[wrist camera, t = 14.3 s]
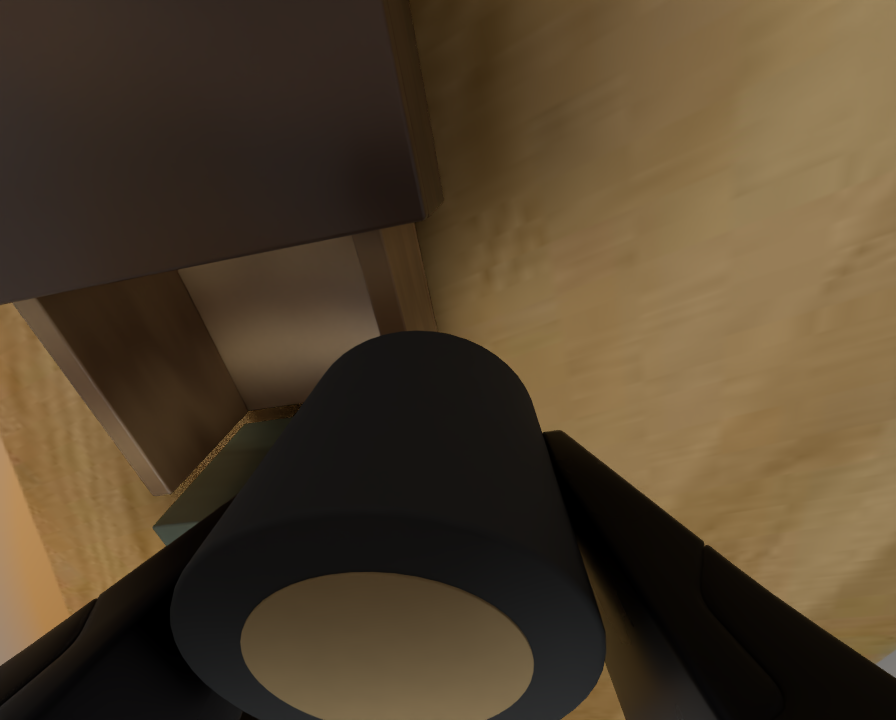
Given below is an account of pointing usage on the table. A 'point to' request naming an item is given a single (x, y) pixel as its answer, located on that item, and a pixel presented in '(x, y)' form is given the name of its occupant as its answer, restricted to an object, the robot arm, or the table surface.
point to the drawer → (225, 352)
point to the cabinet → (202, 133)
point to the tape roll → (398, 554)
